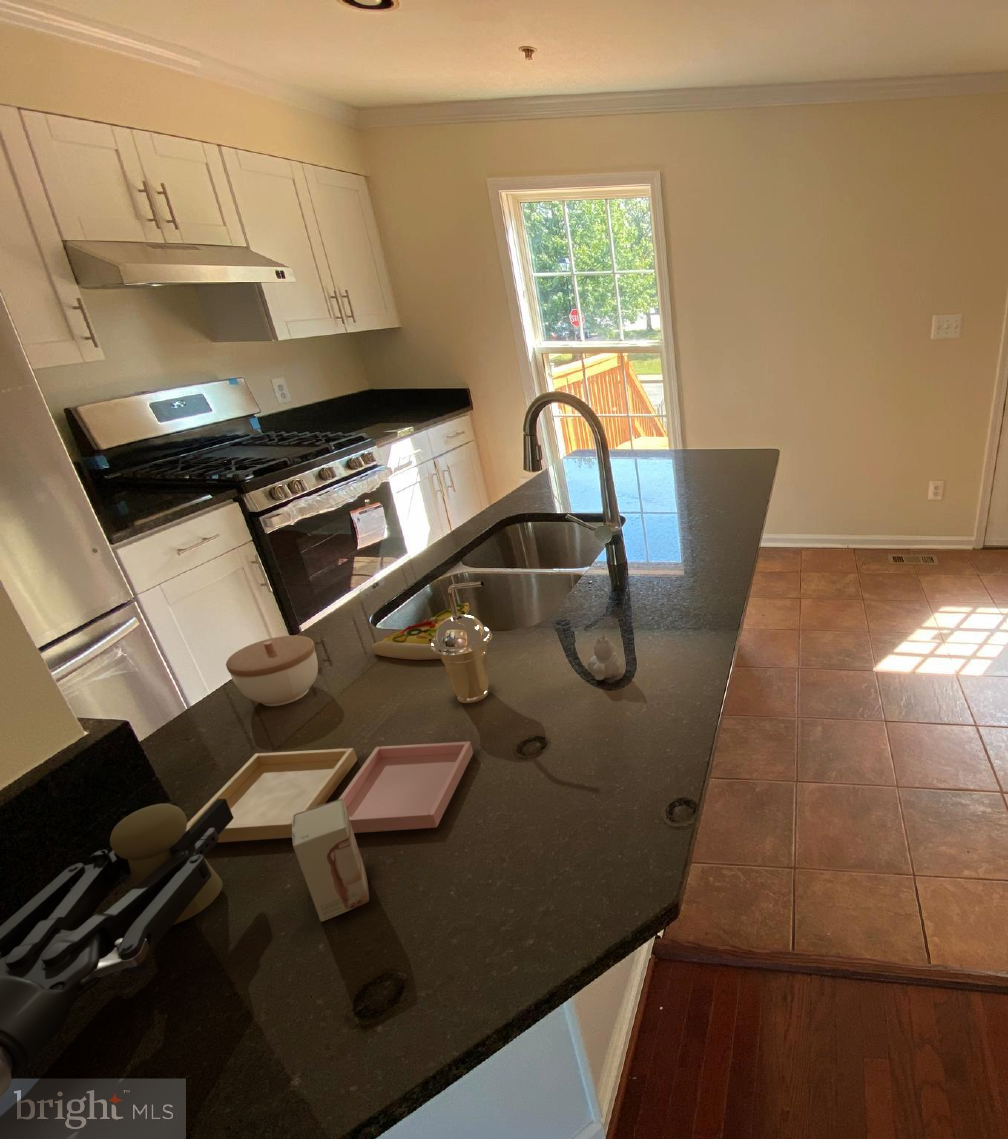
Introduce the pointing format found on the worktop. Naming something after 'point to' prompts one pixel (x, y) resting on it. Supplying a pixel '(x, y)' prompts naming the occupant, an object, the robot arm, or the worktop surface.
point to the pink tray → (405, 786)
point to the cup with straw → (464, 650)
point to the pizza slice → (415, 638)
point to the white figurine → (604, 660)
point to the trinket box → (275, 669)
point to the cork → (158, 848)
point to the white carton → (330, 859)
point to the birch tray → (278, 791)
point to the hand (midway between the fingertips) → (200, 810)
